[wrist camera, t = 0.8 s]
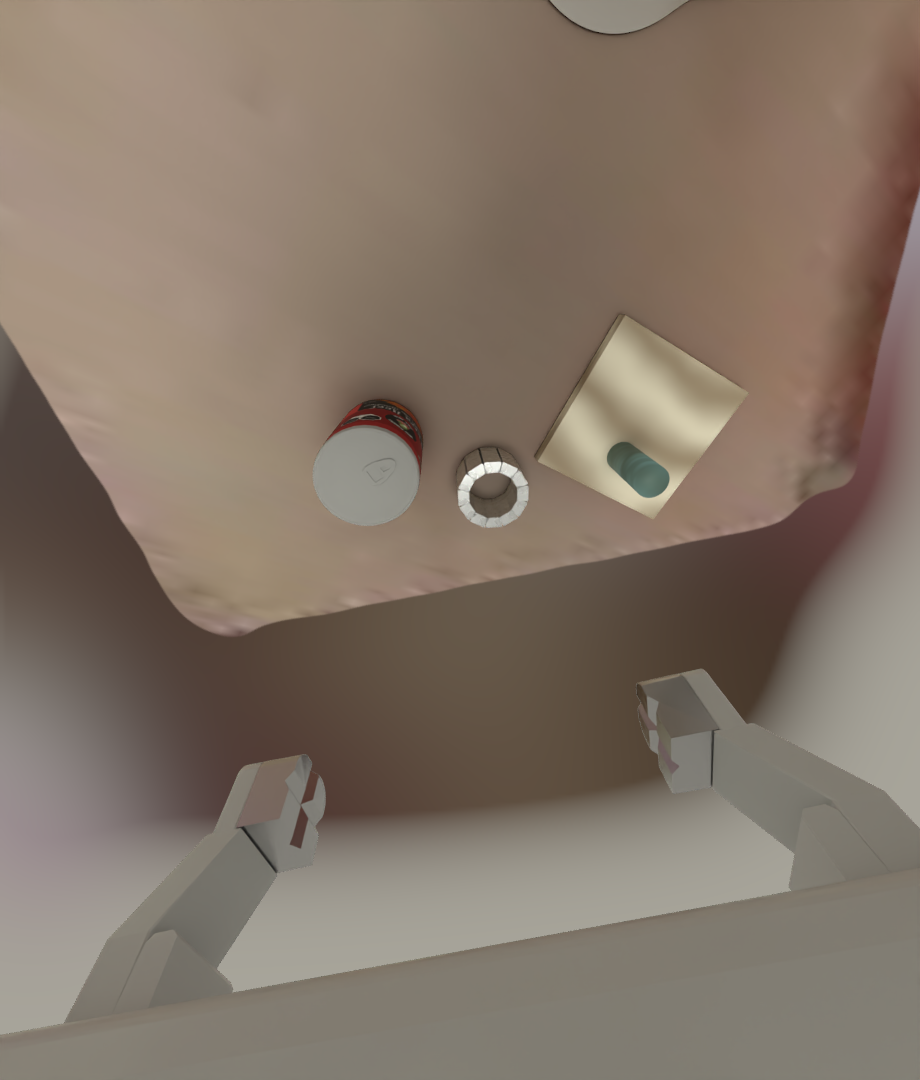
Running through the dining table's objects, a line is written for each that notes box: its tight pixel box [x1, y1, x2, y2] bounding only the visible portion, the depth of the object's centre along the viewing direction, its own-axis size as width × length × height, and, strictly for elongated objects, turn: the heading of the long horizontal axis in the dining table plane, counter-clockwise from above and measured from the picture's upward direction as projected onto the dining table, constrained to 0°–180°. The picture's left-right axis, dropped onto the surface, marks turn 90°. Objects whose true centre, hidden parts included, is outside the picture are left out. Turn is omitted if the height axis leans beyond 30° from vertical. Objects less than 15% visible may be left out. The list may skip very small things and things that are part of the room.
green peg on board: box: [535, 315, 749, 519], centre depth 40 cm, size 14×14×8 cm
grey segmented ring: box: [456, 447, 528, 528], centre depth 43 cm, size 6×6×4 cm
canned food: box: [313, 400, 423, 526], centre depth 38 cm, size 8×8×11 cm
